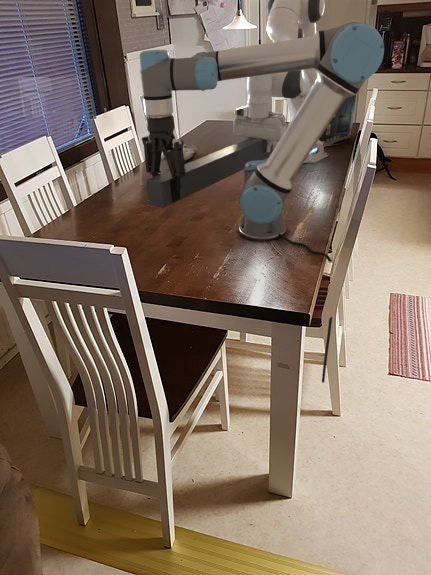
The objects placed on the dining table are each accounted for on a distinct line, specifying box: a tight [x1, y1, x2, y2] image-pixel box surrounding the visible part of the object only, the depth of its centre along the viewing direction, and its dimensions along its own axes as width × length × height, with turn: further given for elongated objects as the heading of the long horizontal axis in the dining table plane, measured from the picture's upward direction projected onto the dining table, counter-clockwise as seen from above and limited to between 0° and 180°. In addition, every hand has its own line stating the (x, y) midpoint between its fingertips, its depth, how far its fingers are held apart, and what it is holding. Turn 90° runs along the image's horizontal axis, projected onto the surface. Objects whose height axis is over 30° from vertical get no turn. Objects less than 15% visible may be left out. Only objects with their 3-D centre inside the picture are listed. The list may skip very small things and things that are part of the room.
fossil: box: [161, 143, 199, 163], centre depth 229 cm, size 18×11×15 cm
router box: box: [304, 94, 357, 144], centre depth 238 cm, size 36×11×27 cm, turn 134°
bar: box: [145, 138, 274, 209], centre depth 150 cm, size 61×6×7 cm, turn 144°
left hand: (168, 198), depth 134 cm, fingers closed on bar, 6 cm apart
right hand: (258, 150), depth 167 cm, fingers closed on bar, 5 cm apart
